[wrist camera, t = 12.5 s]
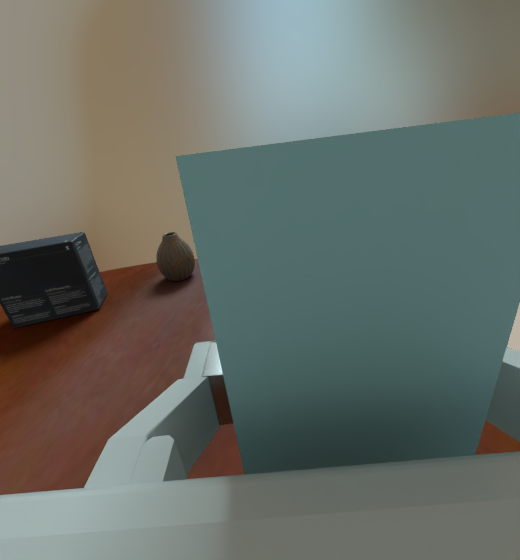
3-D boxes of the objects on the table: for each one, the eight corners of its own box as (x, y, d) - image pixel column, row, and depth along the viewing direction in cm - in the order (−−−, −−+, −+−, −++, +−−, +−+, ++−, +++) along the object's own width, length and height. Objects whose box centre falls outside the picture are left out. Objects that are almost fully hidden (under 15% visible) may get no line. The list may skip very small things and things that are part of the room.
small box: (109, 293, 54) (85, 230, 49) (100, 310, 48) (73, 241, 43) (30, 308, 52) (-3, 244, 47) (11, 329, 46) (-29, 258, 41)
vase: (160, 275, 59) (148, 234, 56) (193, 267, 62) (184, 226, 58) (164, 288, 53) (152, 242, 50) (201, 278, 56) (191, 233, 52)
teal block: (275, 617, 10) (176, 156, 4) (269, 465, 14) (220, 151, 8) (430, 607, 9) (577, 105, 4) (373, 456, 14) (397, 128, 8)
